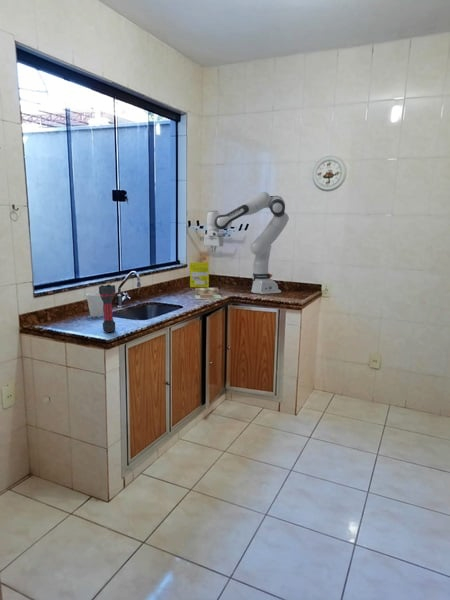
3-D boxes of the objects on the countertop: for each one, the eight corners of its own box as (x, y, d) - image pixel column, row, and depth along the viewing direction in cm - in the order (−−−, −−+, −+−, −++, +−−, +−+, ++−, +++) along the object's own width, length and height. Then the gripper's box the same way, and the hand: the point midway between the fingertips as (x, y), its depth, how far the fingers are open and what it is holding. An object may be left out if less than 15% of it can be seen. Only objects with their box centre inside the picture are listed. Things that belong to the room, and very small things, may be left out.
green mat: (219, 295, 297) (219, 294, 297) (222, 298, 285) (222, 298, 285) (195, 295, 295) (195, 295, 295) (196, 299, 282) (196, 298, 282)
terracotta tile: (213, 294, 285) (213, 297, 286) (213, 293, 291) (213, 296, 292) (200, 295, 285) (200, 297, 285) (200, 293, 291) (200, 296, 291)
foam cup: (86, 315, 234) (84, 293, 232) (102, 314, 239) (101, 291, 236) (89, 319, 226) (88, 296, 224) (106, 317, 231) (105, 294, 228)
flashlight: (110, 335, 195) (108, 287, 191) (97, 333, 198) (94, 286, 194) (121, 331, 202) (118, 284, 197) (108, 329, 205) (106, 283, 201)
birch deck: (216, 292, 308) (216, 287, 307) (218, 295, 298) (218, 289, 297) (195, 293, 305) (195, 288, 305) (196, 295, 296) (196, 290, 295)
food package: (208, 287, 334) (208, 262, 330) (208, 287, 333) (208, 262, 329) (190, 286, 336) (189, 262, 332) (190, 287, 335) (189, 262, 331)
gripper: (201, 233, 309) (201, 251, 311) (217, 233, 293) (218, 253, 296) (208, 233, 313) (208, 251, 315) (224, 233, 297) (225, 252, 299)
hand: (213, 252), depth 305 cm, fingers closed
